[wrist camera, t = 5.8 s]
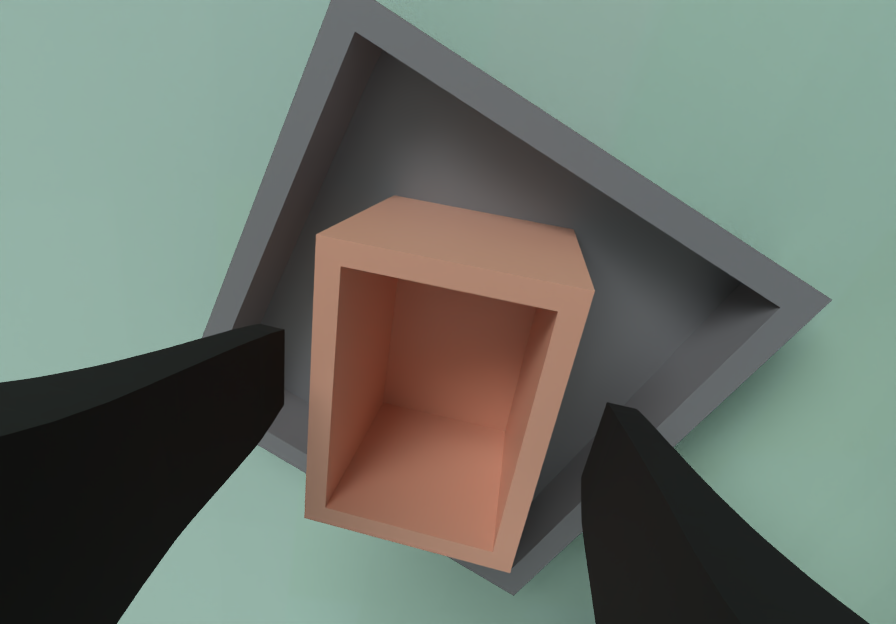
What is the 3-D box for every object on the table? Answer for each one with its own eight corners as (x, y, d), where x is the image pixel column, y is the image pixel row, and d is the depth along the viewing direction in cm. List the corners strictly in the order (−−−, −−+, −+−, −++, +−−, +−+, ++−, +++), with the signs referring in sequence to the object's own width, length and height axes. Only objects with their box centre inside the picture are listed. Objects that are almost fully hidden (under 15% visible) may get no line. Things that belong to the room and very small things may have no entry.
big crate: (775, 266, 12) (831, 300, 10) (516, 531, 17) (513, 595, 15) (379, 6, 12) (339, -23, 9) (229, 359, 17) (178, 398, 14)
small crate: (573, 229, 12) (595, 291, 8) (517, 438, 15) (510, 573, 11) (394, 195, 13) (316, 234, 8) (372, 403, 16) (304, 517, 11)
